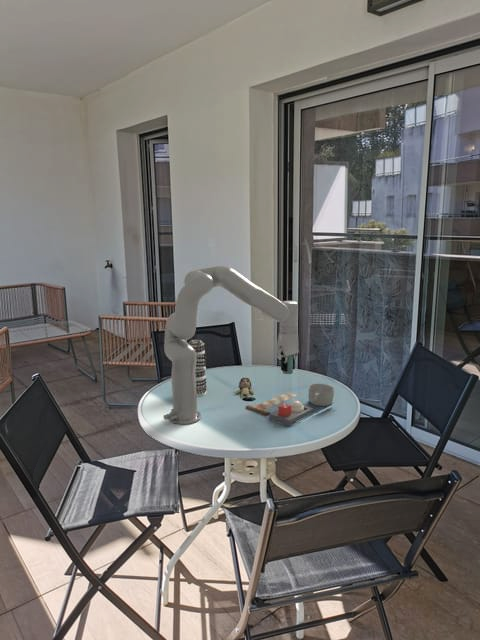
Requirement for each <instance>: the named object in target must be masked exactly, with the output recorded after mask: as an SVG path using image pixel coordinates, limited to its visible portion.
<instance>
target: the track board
mask: <svg viewBox="0 0 480 640" xmlns="http://www.w3.org/2000/svg"><path fill="white" fill-rule="evenodd" d="M296 396H298V394H294V393H292V392H288V391H287V392H285V393H283V394H281V395H279V396H275V397H273V398H271V399H268V400H266V401H264V402H262V403H259V404H257V405H253V406H252V405H250V404H247V405H245V409H248V410H250V411H253V412H255V413H258V414H260V415H264V416H269V413H271V412H270V411H266V410H268V409H270V408H271V407H274V406H276V405H278V404H279V405H280V403H283V402H285V401H287V400H289V399H292V398H294V397H296Z"/></svg>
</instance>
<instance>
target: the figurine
mask: <svg viewBox="0 0 480 640" xmlns="http://www.w3.org/2000/svg"><path fill="white" fill-rule="evenodd" d="M237 387H238V388H239V390H237V391H236V392H235V393H236V395H238V394H240V399H243V398H244V396H246V399H250V394H251V395H254V391H253V390H252V388H253V386H252V382H251V381H250V378H249V377H242V378H240V381H239V383H238V386H237Z"/></svg>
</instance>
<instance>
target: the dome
mask: <svg viewBox="0 0 480 640" xmlns="http://www.w3.org/2000/svg"><path fill="white" fill-rule="evenodd" d="M289 404H290V405H291V411H292V412H295V413H300V412H302V411H304V406H303V405H304V404H302V402H300V400H294V401H292V402H291V403H289Z"/></svg>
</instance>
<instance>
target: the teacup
mask: <svg viewBox="0 0 480 640" xmlns="http://www.w3.org/2000/svg"><path fill="white" fill-rule="evenodd" d="M334 396H335V388H334V386H332V385H329V384H326V383H311V384H309V385H308V401H309V402H310V404H312V405H315V406H316V407H317V406H318V407H327V406H330V405H331V404H332V403H333V400H334Z"/></svg>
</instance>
